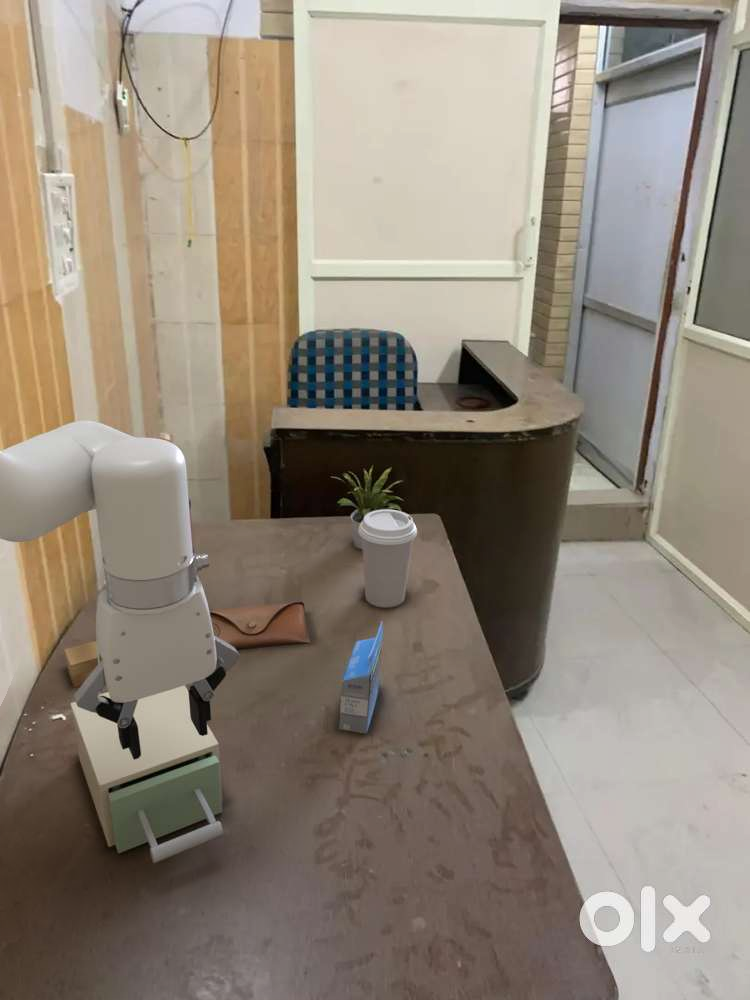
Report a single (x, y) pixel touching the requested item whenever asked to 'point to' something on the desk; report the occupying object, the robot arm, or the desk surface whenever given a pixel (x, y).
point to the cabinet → (161, 744)
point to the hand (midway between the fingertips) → (166, 736)
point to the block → (81, 662)
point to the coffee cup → (386, 555)
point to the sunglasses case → (261, 625)
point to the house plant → (367, 501)
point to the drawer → (168, 807)
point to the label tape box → (361, 684)
